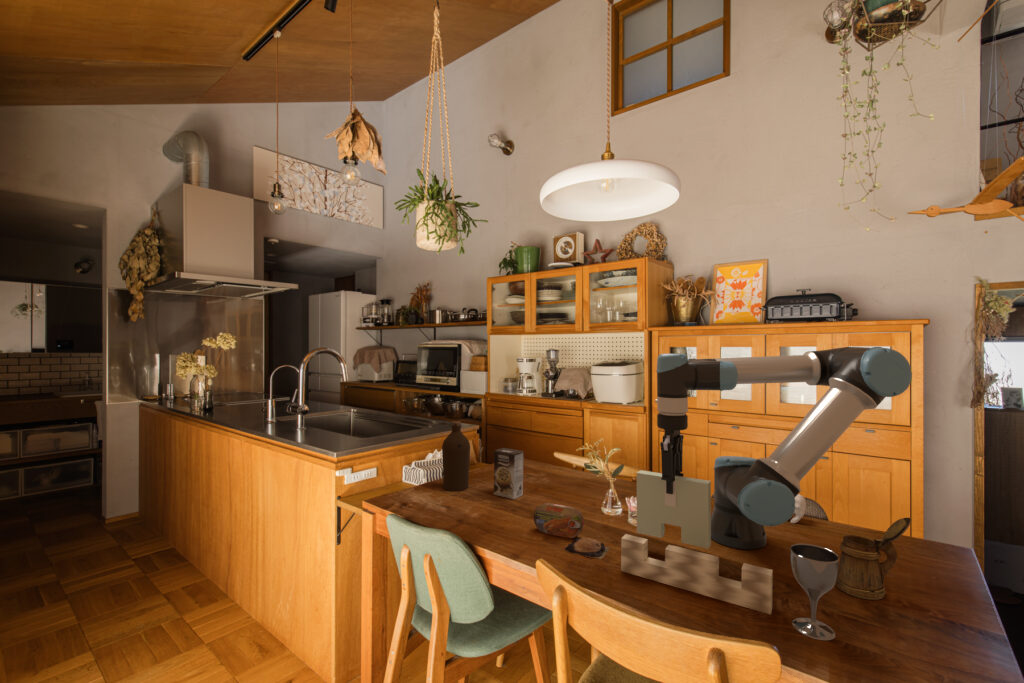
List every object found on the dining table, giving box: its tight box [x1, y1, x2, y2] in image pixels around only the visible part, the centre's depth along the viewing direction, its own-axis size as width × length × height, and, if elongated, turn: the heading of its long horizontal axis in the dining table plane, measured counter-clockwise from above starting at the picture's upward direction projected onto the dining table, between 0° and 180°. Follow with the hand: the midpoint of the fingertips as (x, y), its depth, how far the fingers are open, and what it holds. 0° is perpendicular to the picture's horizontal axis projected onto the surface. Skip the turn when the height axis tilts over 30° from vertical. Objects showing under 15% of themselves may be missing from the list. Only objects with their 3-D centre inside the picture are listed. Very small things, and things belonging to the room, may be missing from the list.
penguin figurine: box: [790, 493, 807, 524], centre depth 148 cm, size 6×8×12 cm
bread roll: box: [564, 536, 610, 560], centre depth 125 cm, size 11×8×4 cm
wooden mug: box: [834, 517, 912, 601], centre depth 105 cm, size 9×14×18 cm, turn 61°
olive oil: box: [441, 420, 471, 492], centre depth 177 cm, size 11×11×25 cm
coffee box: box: [493, 447, 524, 500], centre depth 169 cm, size 9×6×16 cm
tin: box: [533, 502, 585, 539], centre depth 135 cm, size 15×3×8 cm, turn 62°
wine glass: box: [789, 542, 840, 641], centre depth 91 cm, size 8×8×15 cm
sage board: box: [636, 469, 712, 550], centre depth 121 cm, size 18×3×16 cm, turn 56°
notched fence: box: [620, 533, 774, 615], centre depth 106 cm, size 32×3×8 cm, turn 56°
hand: (672, 503), depth 121 cm, fingers closed on sage board, 3 cm apart
